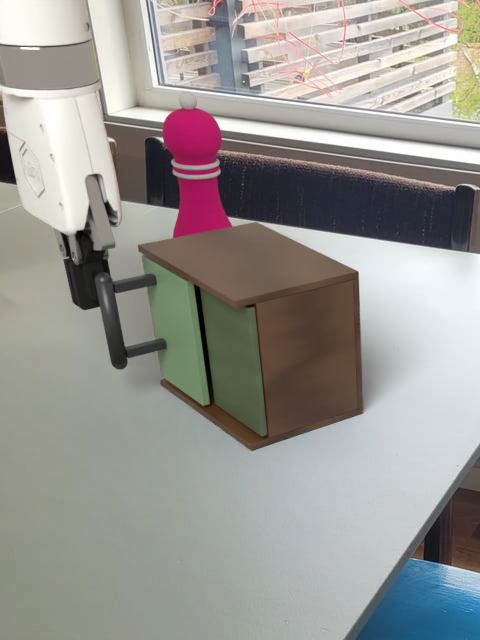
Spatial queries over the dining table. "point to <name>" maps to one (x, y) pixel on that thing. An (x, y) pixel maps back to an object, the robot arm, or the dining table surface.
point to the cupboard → (270, 331)
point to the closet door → (159, 326)
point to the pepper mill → (195, 167)
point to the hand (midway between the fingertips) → (94, 303)
